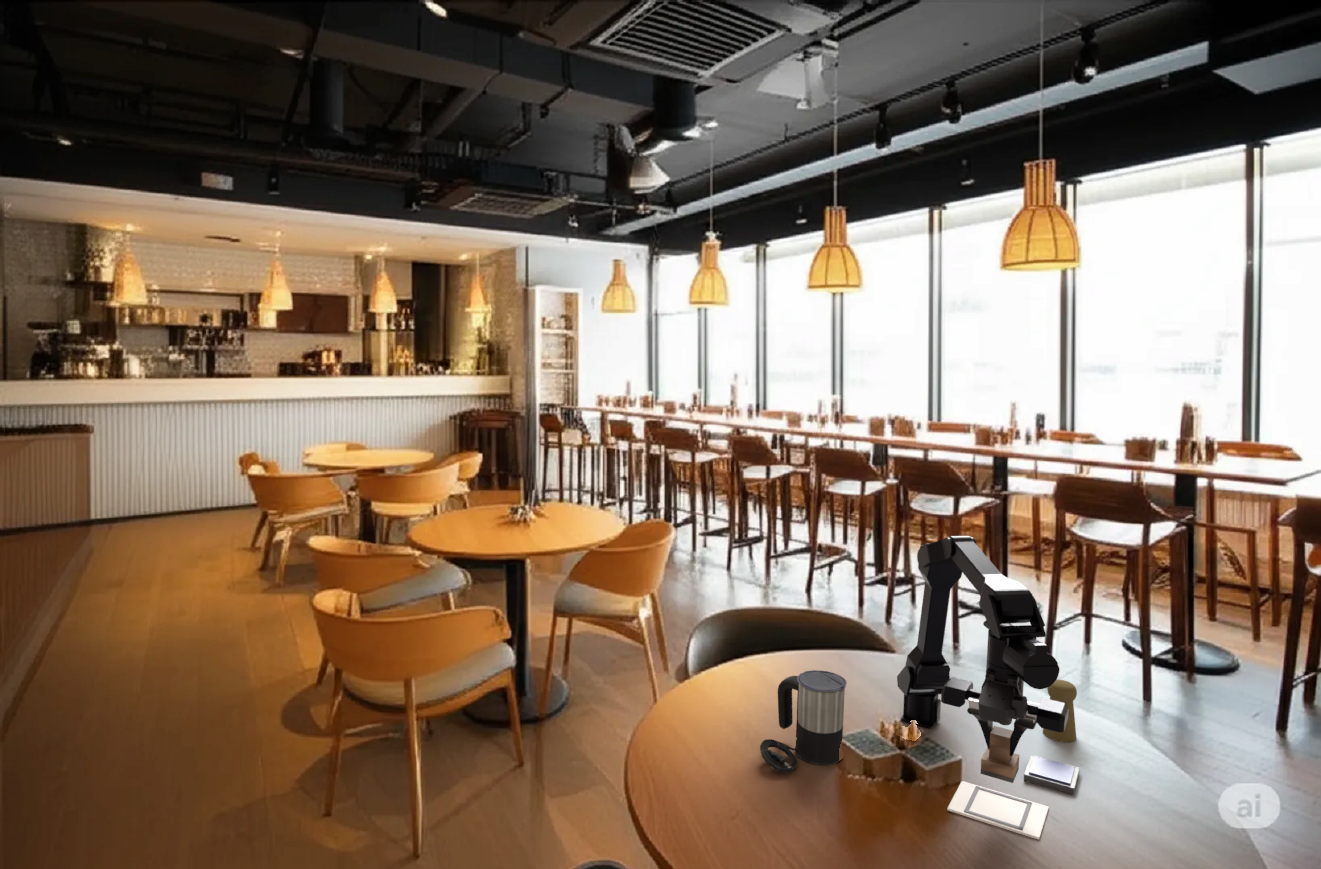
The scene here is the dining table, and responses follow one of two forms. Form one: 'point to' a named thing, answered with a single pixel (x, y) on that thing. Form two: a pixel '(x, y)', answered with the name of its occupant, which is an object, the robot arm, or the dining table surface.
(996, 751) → the stamp
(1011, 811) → the print card
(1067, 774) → the ink pad
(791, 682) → the milk frother
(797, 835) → the dining table surface
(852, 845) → the dining table surface
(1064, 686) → the cork
